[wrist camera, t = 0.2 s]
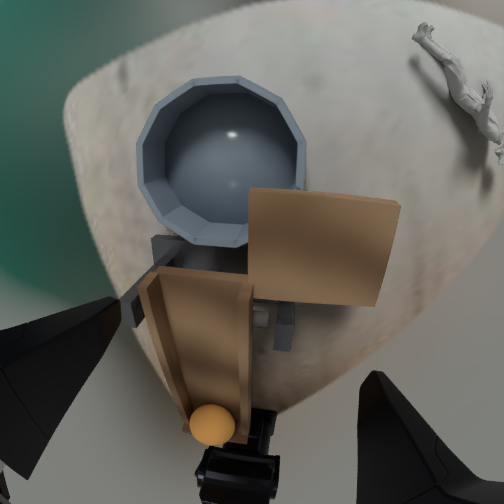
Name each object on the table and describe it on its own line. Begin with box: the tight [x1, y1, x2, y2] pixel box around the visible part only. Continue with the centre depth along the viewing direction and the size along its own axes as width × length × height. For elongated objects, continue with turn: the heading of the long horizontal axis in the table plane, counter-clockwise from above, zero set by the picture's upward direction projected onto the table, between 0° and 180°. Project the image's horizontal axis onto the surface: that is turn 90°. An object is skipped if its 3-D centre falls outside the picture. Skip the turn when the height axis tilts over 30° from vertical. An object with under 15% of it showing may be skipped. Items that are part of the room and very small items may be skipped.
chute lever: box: [137, 187, 401, 444], centre depth 17 cm, size 22×14×3 cm, turn 178°
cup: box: [136, 76, 306, 248], centre depth 18 cm, size 11×11×4 cm
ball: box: [189, 404, 235, 446], centre depth 20 cm, size 4×4×4 cm
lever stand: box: [119, 235, 303, 351], centre depth 19 cm, size 5×13×8 cm, turn 88°
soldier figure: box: [412, 22, 504, 164], centre depth 12 cm, size 8×5×12 cm
